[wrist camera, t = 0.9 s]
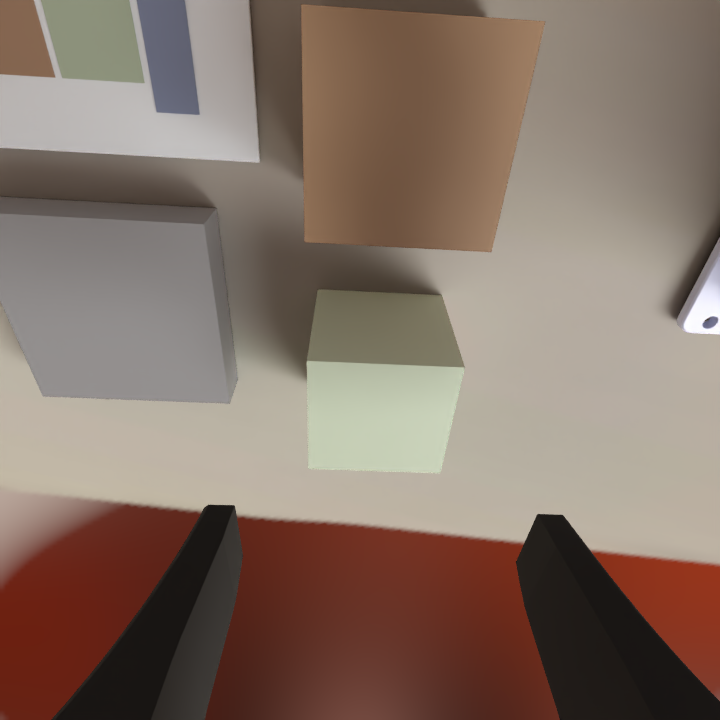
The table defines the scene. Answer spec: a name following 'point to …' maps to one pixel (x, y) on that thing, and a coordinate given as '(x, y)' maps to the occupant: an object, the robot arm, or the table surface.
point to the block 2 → (381, 382)
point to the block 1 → (410, 124)
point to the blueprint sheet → (129, 78)
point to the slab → (118, 299)
